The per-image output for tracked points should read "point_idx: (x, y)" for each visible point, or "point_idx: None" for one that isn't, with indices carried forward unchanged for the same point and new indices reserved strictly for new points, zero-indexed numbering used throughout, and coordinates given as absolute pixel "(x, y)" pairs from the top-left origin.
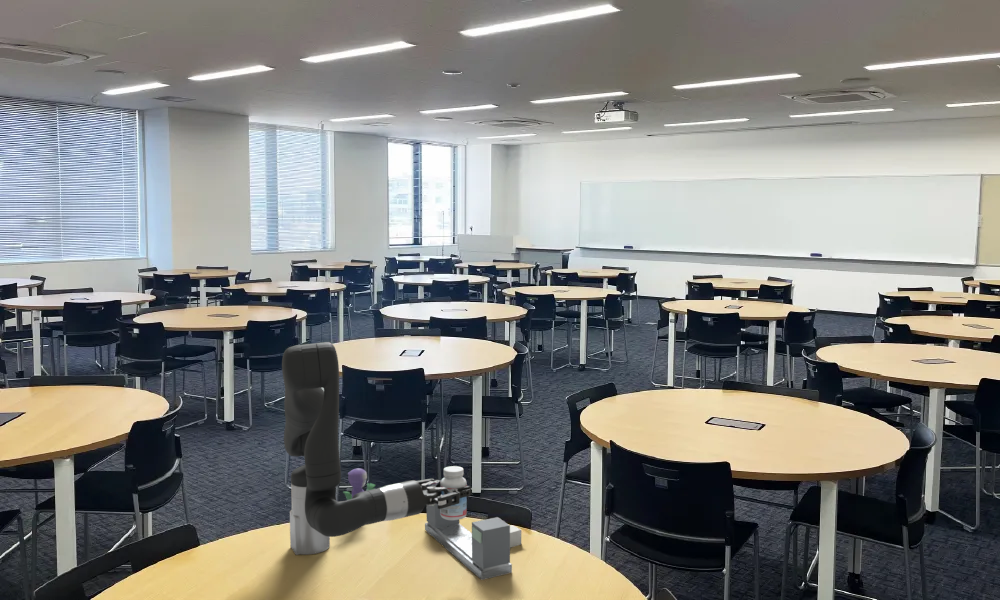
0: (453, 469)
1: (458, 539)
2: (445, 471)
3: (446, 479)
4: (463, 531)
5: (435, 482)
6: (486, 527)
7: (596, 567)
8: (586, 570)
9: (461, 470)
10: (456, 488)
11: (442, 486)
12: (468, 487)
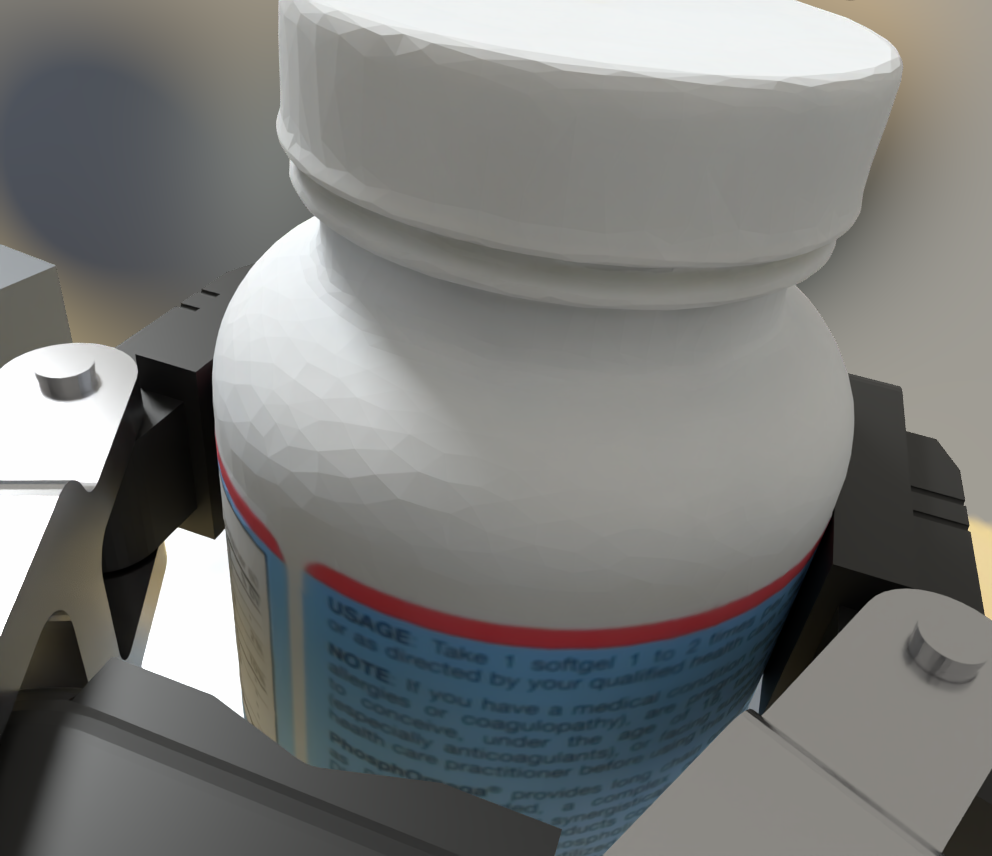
0: (619, 13)
1: (199, 636)
2: (513, 91)
3: (501, 363)
4: (176, 532)
5: (76, 489)
6: (755, 702)
7: (981, 547)
8: (984, 589)
9: (863, 29)
10: (835, 554)
11: (411, 596)
12: (900, 413)
